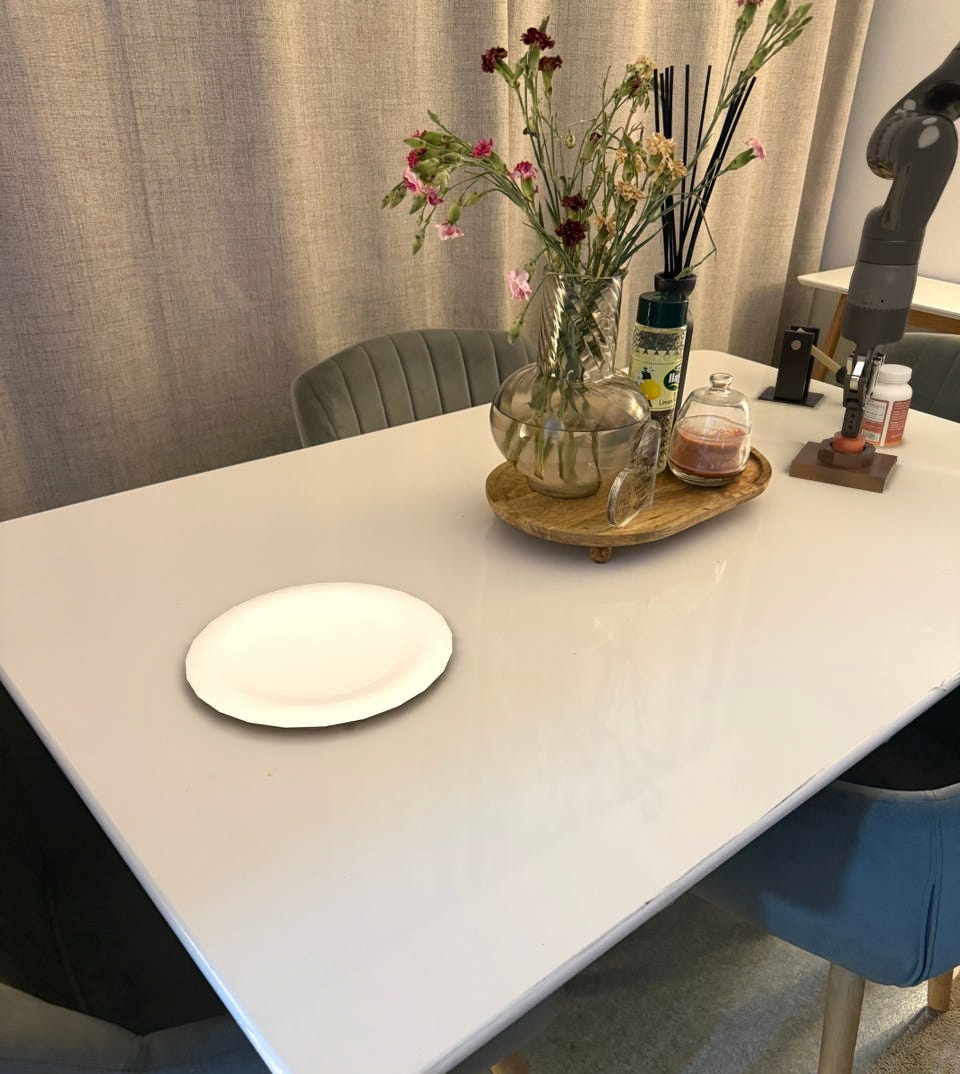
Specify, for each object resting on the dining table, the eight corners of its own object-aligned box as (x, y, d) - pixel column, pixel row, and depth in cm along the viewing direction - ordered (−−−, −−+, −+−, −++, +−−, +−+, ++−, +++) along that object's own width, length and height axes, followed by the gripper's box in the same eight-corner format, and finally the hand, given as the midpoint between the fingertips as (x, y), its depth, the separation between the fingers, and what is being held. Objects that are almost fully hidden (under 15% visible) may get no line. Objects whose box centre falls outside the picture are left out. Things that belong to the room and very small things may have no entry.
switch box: (894, 471, 126) (901, 443, 123) (882, 494, 119) (889, 465, 117) (805, 455, 131) (810, 428, 129) (788, 476, 124) (794, 448, 122)
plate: (385, 768, 74) (384, 751, 73) (130, 706, 81) (125, 690, 80) (490, 617, 94) (489, 603, 93) (276, 578, 101) (274, 565, 100)
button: (865, 446, 124) (868, 433, 123) (859, 456, 121) (862, 443, 120) (835, 441, 125) (837, 429, 124) (828, 450, 122) (831, 438, 121)
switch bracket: (822, 401, 151) (837, 327, 145) (812, 413, 146) (826, 337, 140) (768, 393, 155) (779, 321, 149) (756, 404, 150) (768, 330, 144)
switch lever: (849, 387, 146) (863, 371, 144) (844, 392, 144) (859, 376, 142) (789, 341, 148) (802, 324, 145) (784, 346, 145) (797, 329, 143)
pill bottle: (895, 438, 136) (913, 363, 130) (903, 453, 131) (922, 375, 125) (851, 435, 137) (867, 361, 131) (858, 450, 132) (875, 373, 126)
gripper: (902, 314, 106) (869, 456, 116) (920, 292, 116) (888, 425, 125) (835, 307, 109) (809, 446, 119) (858, 286, 119) (832, 416, 128)
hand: (850, 435), depth 122 cm, fingers closed
